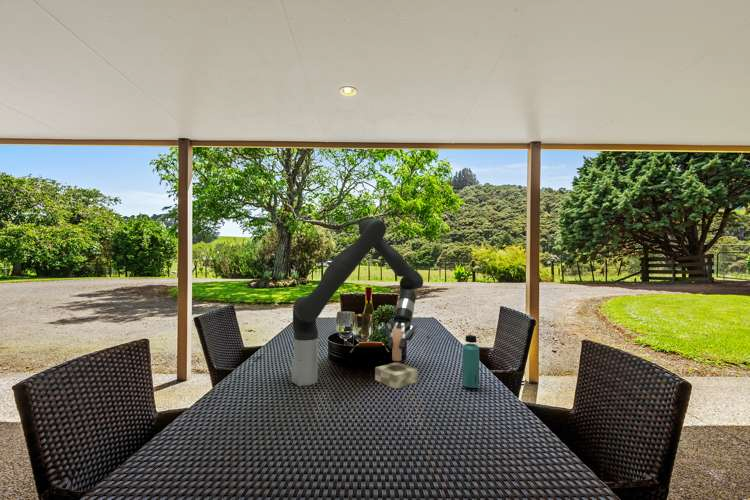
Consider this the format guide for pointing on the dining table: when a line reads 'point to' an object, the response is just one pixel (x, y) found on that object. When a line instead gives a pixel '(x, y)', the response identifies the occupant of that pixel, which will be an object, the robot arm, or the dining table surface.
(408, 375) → the socket
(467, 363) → the beverage bottle
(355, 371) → the dining table surface
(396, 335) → the peg
